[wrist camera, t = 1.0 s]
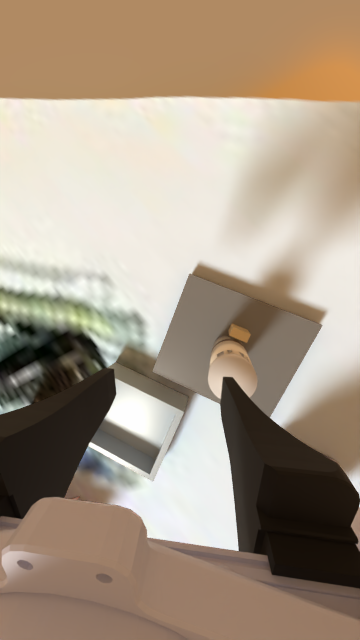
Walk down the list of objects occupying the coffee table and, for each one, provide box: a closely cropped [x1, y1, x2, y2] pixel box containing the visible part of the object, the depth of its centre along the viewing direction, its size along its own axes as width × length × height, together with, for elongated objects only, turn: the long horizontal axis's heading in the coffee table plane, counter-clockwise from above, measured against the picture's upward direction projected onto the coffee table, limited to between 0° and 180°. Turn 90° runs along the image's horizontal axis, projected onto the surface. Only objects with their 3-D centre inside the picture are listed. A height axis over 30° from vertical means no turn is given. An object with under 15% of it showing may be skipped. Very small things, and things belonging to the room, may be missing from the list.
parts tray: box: [88, 362, 189, 481], centre depth 28 cm, size 12×12×4 cm
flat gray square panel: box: [152, 274, 322, 418], centre depth 23 cm, size 16×14×4 cm
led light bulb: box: [208, 335, 257, 399], centre depth 20 cm, size 4×4×8 cm
